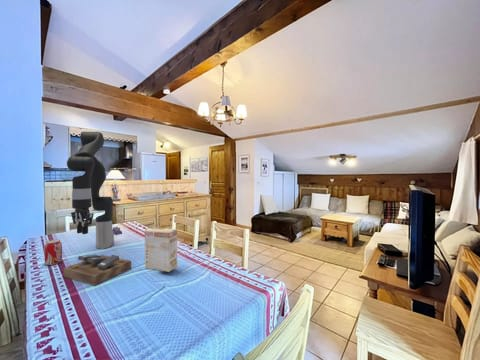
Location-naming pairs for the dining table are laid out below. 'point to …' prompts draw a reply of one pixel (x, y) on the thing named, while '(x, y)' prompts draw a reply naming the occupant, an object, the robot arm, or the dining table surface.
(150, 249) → the coffeecake box
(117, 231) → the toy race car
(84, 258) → the rocker
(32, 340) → the dining table surface
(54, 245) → the soda can
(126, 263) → the switch unit
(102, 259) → the rocker
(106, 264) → the rocker
